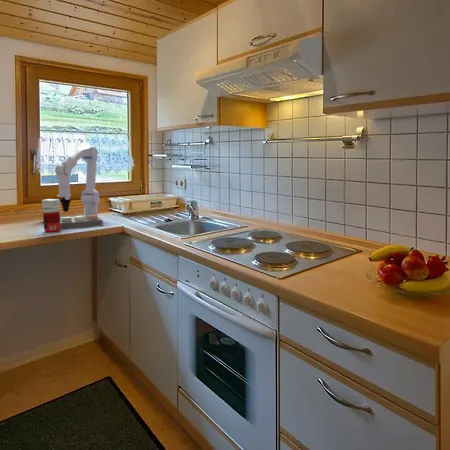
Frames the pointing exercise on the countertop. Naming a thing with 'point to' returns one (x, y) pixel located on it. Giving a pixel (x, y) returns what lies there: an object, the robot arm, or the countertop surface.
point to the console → (81, 223)
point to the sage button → (66, 219)
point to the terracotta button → (92, 217)
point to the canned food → (51, 221)
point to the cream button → (79, 218)
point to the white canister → (51, 205)
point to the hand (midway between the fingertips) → (65, 211)
